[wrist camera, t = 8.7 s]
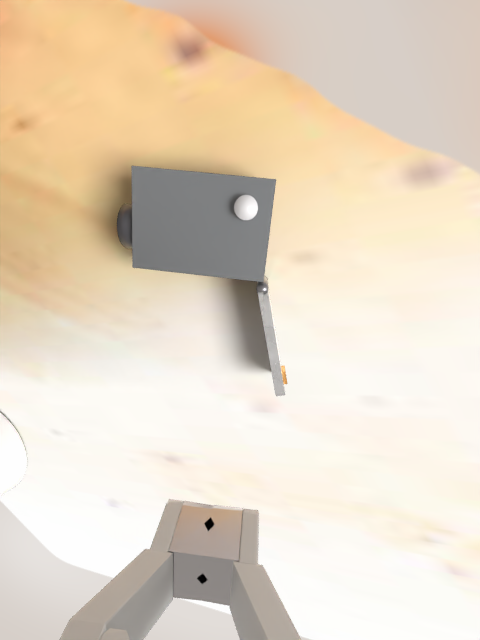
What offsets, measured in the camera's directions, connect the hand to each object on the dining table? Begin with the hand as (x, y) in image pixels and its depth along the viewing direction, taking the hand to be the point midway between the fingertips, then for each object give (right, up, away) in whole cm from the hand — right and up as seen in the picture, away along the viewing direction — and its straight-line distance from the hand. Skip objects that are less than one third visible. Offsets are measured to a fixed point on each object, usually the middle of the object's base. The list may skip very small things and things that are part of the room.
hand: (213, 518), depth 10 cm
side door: (+4, +6, +18) cm, 19 cm away
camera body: (-2, +15, +16) cm, 21 cm away
